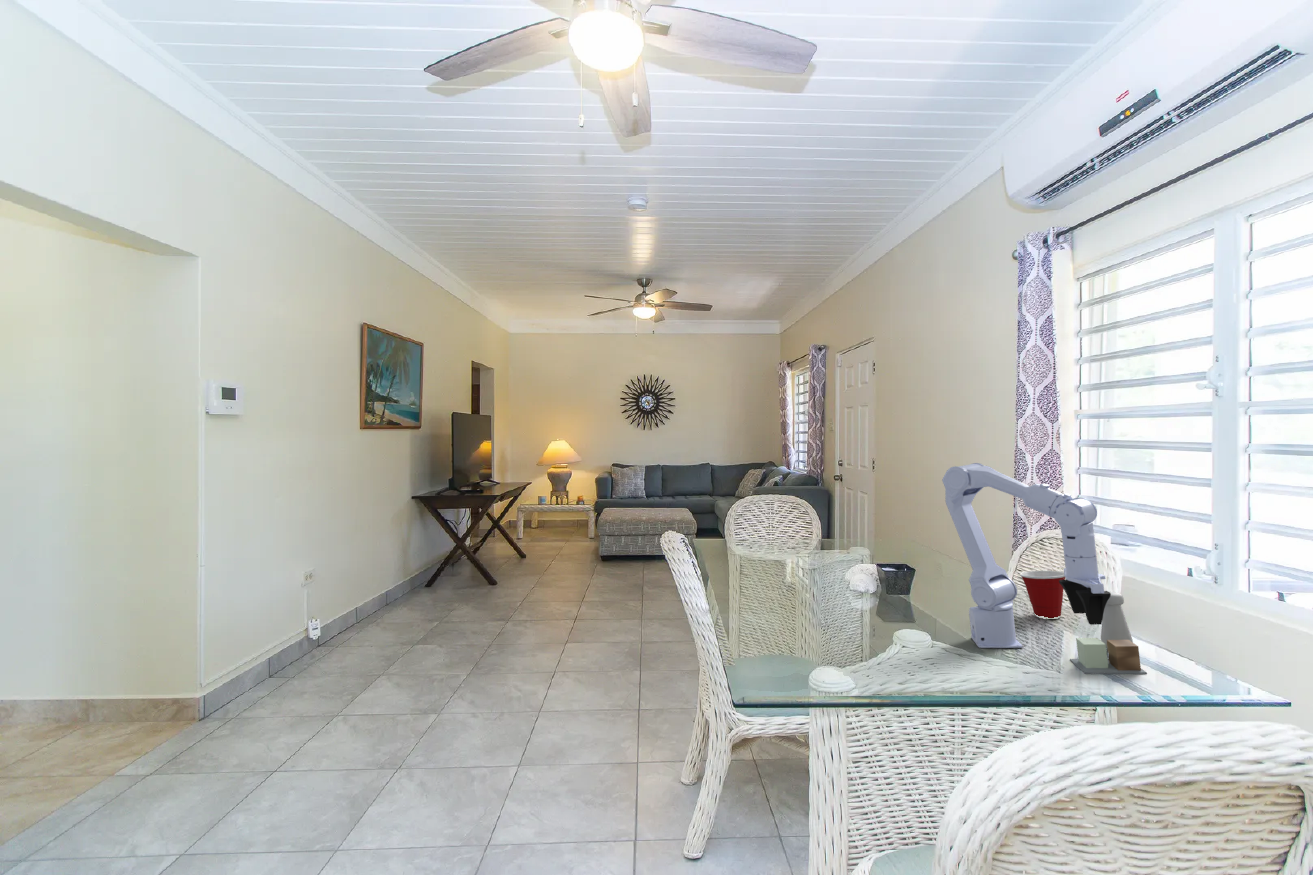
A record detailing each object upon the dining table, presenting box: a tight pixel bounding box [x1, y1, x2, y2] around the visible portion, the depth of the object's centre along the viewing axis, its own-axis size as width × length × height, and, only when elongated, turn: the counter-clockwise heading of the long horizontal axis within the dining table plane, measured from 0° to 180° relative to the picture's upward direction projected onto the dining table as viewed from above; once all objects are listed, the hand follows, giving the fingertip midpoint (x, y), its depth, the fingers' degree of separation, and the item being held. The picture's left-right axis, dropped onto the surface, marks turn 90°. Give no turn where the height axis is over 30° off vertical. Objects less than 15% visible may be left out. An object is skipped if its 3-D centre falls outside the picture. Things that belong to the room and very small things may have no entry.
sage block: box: [1075, 637, 1108, 668], centre depth 127 cm, size 4×4×5 cm
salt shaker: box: [1100, 591, 1134, 651], centre depth 133 cm, size 6×6×13 cm
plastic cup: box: [1019, 570, 1066, 618], centre depth 159 cm, size 11×11×12 cm
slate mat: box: [1069, 658, 1148, 675], centre depth 125 cm, size 11×8×1 cm
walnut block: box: [1107, 640, 1142, 671], centre depth 124 cm, size 4×4×5 cm
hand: (1087, 618), depth 127 cm, fingers open, 7 cm apart
